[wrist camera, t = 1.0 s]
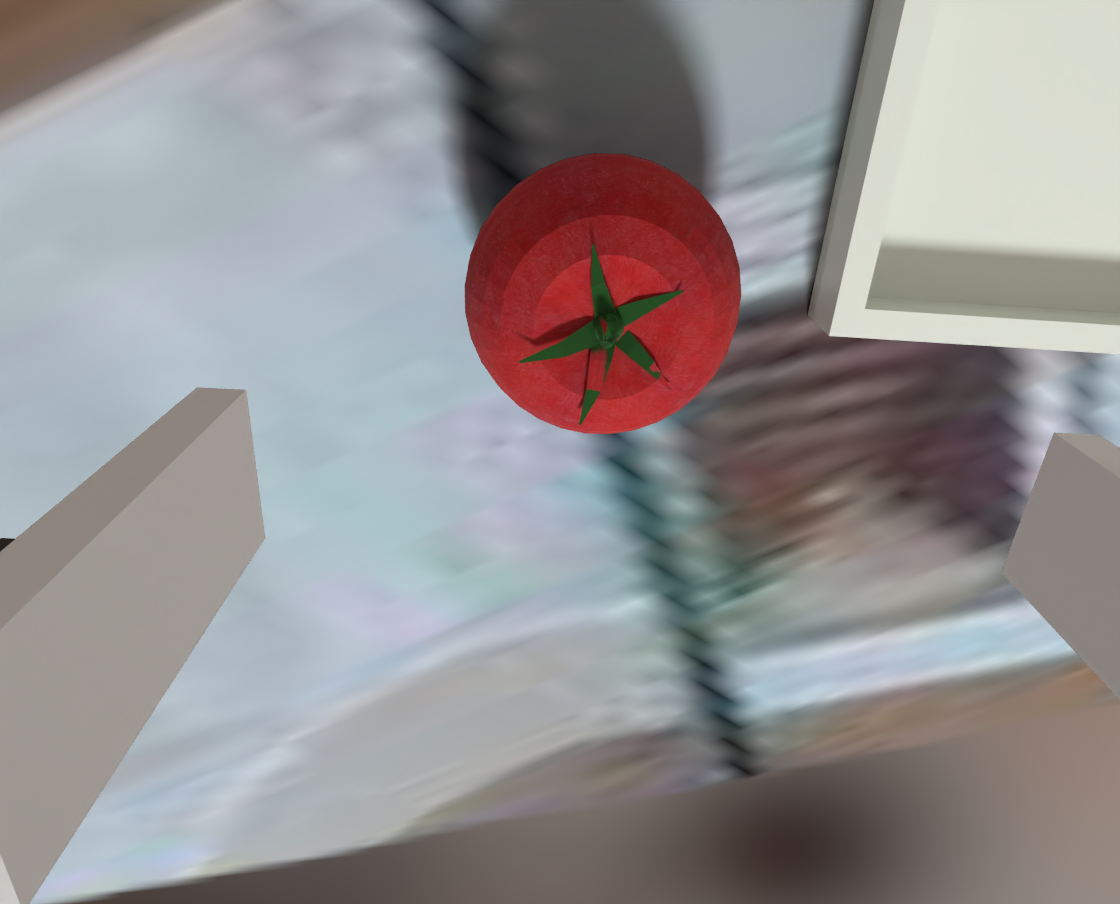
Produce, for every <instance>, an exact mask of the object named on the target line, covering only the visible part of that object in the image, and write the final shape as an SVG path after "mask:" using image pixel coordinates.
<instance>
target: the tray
mask: <svg viewBox="0 0 1120 904" xmlns="http://www.w3.org/2000/svg"><path fill="white" fill-rule="evenodd" d="M807 316H808V317H809V318H810V319H811V320H812V321H813V322H814V323H815V324H817V325H818V326H819V327H820V328H821V329H822V330H823V331H824V332H825V333H827V334H828V335H829V336H840V337H856V338H872V339H887V340H903V341H919V342H935V343H951V344H967V345H982V346H998V347H1014V348H1030V349H1046V350H1061V351H1077V352H1093V353H1109V354H1120V0H874V4H873V9H872V14H871V18H870V23H869V28H868V33H867V37H866V42H865V47H864V51H863V56H862V61H861V66H860V70H859V75H858V80H857V84H856V89H855V94H854V99H853V103H852V108H851V113H850V117H849V122H848V127H847V132H846V136H845V141H844V146H843V150H842V155H841V160H840V165H839V169H838V174H837V179H836V183H835V188H834V193H833V198H832V202H831V207H830V212H829V216H828V221H827V226H826V231H825V235H824V240H823V245H822V249H821V254H820V259H819V264H818V268H817V273H816V278H815V282H814V287H813V292H812V297H811V301H810V306H809V311H808V315H807Z"/></svg>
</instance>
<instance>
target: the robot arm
mask: <svg viewBox="0 0 1120 904" xmlns="http://www.w3.org/2000/svg"><path fill="white" fill-rule="evenodd" d="M264 539H265V532H264V525H263V517H262V509H261V501H260V494H259V486H258V478H257V470H256V463H255V455H254V447H253V439H252V432H251V424H250V416H249V409H248V401H247V393H246V390H235V389H216V388H196V389H195V390H194V391H192V392H191V393H190V394H189V395H188V396H186V397H185V398H184V399H183V400H182V401H180V402H179V403H178V404H177V405H176V406H174V407H173V408H172V409H171V410H170V411H168V412H167V413H166V414H165V415H164V416H162V417H161V418H160V419H159V420H158V421H156V422H155V423H154V424H153V425H152V426H150V427H149V428H148V429H147V430H146V431H144V432H143V433H142V434H141V435H140V436H138V437H137V438H136V439H135V440H134V441H132V442H131V443H130V444H129V445H128V446H126V447H125V448H124V449H123V450H122V451H120V452H119V453H118V454H117V455H116V456H114V457H113V458H112V459H111V460H110V461H108V462H107V463H106V464H105V465H104V466H102V467H101V468H100V469H99V470H98V471H96V472H95V473H94V474H93V475H92V476H90V477H89V478H88V479H87V480H86V481H84V482H83V483H82V484H81V485H80V486H78V487H77V488H76V489H75V490H74V491H72V492H71V493H70V494H69V495H68V496H66V497H65V498H64V499H63V500H62V501H60V502H59V503H58V504H57V505H56V506H54V507H53V508H52V509H51V510H50V511H48V512H47V513H46V514H45V515H44V516H42V517H41V518H40V519H39V520H38V521H36V522H35V523H34V524H33V525H32V526H30V527H29V528H28V529H27V530H26V531H24V532H23V533H22V534H21V535H20V536H18V537H17V538H16V539H8V538H1V539H0V904H29V903H30V902H31V900H32V899H33V897H34V896H35V894H36V893H37V891H38V889H39V888H40V886H41V885H42V883H43V882H44V880H45V879H46V877H47V875H48V874H49V872H50V871H51V869H52V868H53V866H54V865H55V863H56V862H57V860H58V858H59V857H60V855H61V854H62V852H63V851H64V849H65V848H66V846H67V844H68V843H69V841H70V840H71V838H72V837H73V835H74V834H75V832H76V830H77V829H78V827H79V826H80V824H81V823H82V821H83V820H84V818H85V817H86V815H87V813H88V812H89V810H90V809H91V807H92V806H93V804H94V803H95V801H96V799H97V798H98V796H99V795H100V793H101V792H102V790H103V789H104V787H105V785H106V784H107V782H108V781H109V779H110V778H111V776H112V775H113V773H114V772H115V770H116V768H117V767H118V765H119V764H120V762H121V761H122V759H123V758H124V756H125V754H126V753H127V751H128V750H129V748H130V747H131V745H132V744H133V742H134V741H135V739H136V737H137V736H138V734H139V733H140V731H141V730H142V728H143V727H144V725H145V723H146V722H147V720H148V719H149V717H150V716H151V714H152V713H153V711H154V709H155V708H156V706H157V705H158V703H159V702H160V700H161V699H162V697H163V696H164V694H165V692H166V691H167V689H168V688H169V686H170V685H171V683H172V682H173V680H174V678H175V677H176V675H177V674H178V672H179V671H180V669H181V668H182V666H183V665H184V663H185V661H186V660H187V658H188V657H189V655H190V654H191V652H192V651H193V649H194V647H195V646H196V644H197V643H198V641H199V640H200V638H201V637H202V635H203V633H204V632H205V630H206V629H207V627H208V626H209V624H210V623H211V621H212V620H213V618H214V616H215V615H216V613H217V612H218V610H219V609H220V607H221V606H222V604H223V602H224V601H225V599H226V598H227V596H228V595H229V593H230V592H231V590H232V589H233V587H234V585H235V584H236V582H237V581H238V579H239V578H240V576H241V575H242V573H243V571H244V570H245V568H246V567H247V565H248V564H249V562H250V561H251V559H252V557H253V556H254V554H255V553H256V551H257V550H258V548H259V547H260V545H261V544H262V542H263V540H264ZM1001 572H1002V573H1003V574H1004V576H1005V577H1006V578H1007V579H1008V580H1009V581H1010V582H1011V583H1012V584H1013V585H1014V586H1015V587H1016V588H1017V590H1018V591H1019V592H1020V593H1021V594H1022V595H1023V596H1024V597H1025V598H1026V599H1027V600H1028V601H1029V602H1030V604H1031V605H1032V606H1033V607H1034V608H1035V609H1036V610H1037V611H1038V612H1039V613H1040V614H1041V615H1042V616H1043V618H1044V619H1045V620H1046V621H1047V622H1048V623H1049V624H1050V625H1051V626H1052V627H1053V628H1054V629H1055V630H1056V632H1057V633H1058V634H1059V635H1060V636H1061V637H1062V638H1063V639H1064V640H1065V641H1066V642H1067V643H1068V644H1069V646H1070V647H1071V648H1072V649H1073V650H1074V651H1075V652H1076V653H1077V654H1078V655H1079V656H1080V657H1081V658H1082V660H1083V661H1084V662H1085V663H1086V664H1087V665H1088V666H1089V667H1090V668H1091V669H1092V670H1093V671H1094V672H1095V674H1096V675H1097V676H1098V677H1099V678H1100V679H1101V680H1102V681H1103V682H1104V683H1105V684H1106V685H1107V686H1108V688H1109V689H1110V690H1111V691H1112V692H1113V693H1114V694H1115V695H1116V696H1117V697H1118V698H1119V699H1120V448H1119V447H1117V446H1116V445H1114V444H1113V443H1111V442H1109V441H1108V440H1106V439H1105V438H1103V437H1101V436H1100V435H1087V434H1068V433H1054V434H1053V437H1052V439H1051V442H1050V444H1049V447H1048V450H1047V452H1046V455H1045V458H1044V460H1043V463H1042V466H1041V468H1040V471H1039V474H1038V476H1037V479H1036V481H1035V484H1034V487H1033V489H1032V492H1031V495H1030V497H1029V500H1028V503H1027V505H1026V508H1025V511H1024V513H1023V516H1022V519H1021V521H1020V524H1019V526H1018V529H1017V532H1016V534H1015V537H1014V540H1013V542H1012V545H1011V548H1010V550H1009V553H1008V556H1007V558H1006V561H1005V563H1004V566H1003V569H1002V571H1001Z"/></svg>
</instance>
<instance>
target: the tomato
mask: <svg viewBox="0 0 1120 904" xmlns="http://www.w3.org/2000/svg"><path fill="white" fill-rule="evenodd" d="M740 299H741V284H740V268H739V264H738V260H737V257H736V253H735V249H734V246H733V242H732V240H731V238H730V236H729V234H728V232H727V230H726V228H725V226H724V224H723V222H722V220H721V218H720V216H719V215H718V214H717V212H716V211H715V210H714V209H713V207H712V206H711V205H710V204H709V203H708V201H707V200H706V199H705V198H704V196H703V195H702V194H701V193H700V191H698V190H697V189H696V188H695V187H693V186H692V185H691V184H690V183H688V182H687V181H686V180H685V179H683V178H682V177H681V176H680V175H678V174H677V173H675V172H673V171H671V170H669V169H667V168H665V167H663V166H661V165H659V164H657V163H655V162H653V161H649V160H645V159H641V158H637V157H633V156H629V155H625V154H603V153H594V154H588V155H583V156H577V157H571V158H566V159H564V160H561V161H559V162H556V163H554V164H551V165H549V166H547V167H544V168H542V169H539V170H538V171H536V172H535V173H533V174H532V175H530V176H529V177H527V178H526V179H524V180H523V181H521V182H520V183H518V184H517V185H516V186H515V187H514V188H513V189H512V190H511V191H510V192H509V193H508V194H507V195H506V196H505V197H504V198H503V199H502V200H501V201H500V202H499V203H498V204H497V205H496V206H495V208H494V209H493V211H492V212H491V214H490V215H489V217H488V218H487V220H486V222H485V223H484V225H483V226H482V228H481V229H480V232H479V234H478V237H477V239H476V242H475V245H474V247H473V250H472V252H471V255H470V260H469V265H468V271H467V276H466V282H465V313H466V318H467V322H468V327H469V331H470V336H471V339H472V342H473V344H474V346H475V348H476V351H477V353H478V355H479V357H480V360H481V362H482V363H483V365H484V366H485V368H486V369H487V371H488V372H489V373H490V375H491V376H492V378H493V379H494V380H495V382H496V383H497V385H498V386H499V387H500V388H501V389H502V390H503V391H504V392H505V393H506V394H507V395H508V396H509V397H510V398H511V399H512V400H513V401H514V402H515V403H516V404H517V405H518V406H520V407H521V408H523V409H524V410H526V411H527V412H529V413H531V414H532V415H534V416H535V417H537V418H538V419H540V420H543V421H545V422H547V423H550V424H552V425H555V426H557V427H560V428H563V429H567V430H572V431H577V432H582V433H595V434H612V433H619V432H625V431H632V430H636V429H639V428H642V427H645V426H648V425H650V424H653V423H656V422H658V421H660V420H662V419H664V418H666V417H667V416H669V415H671V414H673V413H675V412H676V411H678V410H680V409H681V408H682V407H683V406H685V405H686V404H687V403H688V402H689V401H691V400H692V399H693V398H694V397H696V396H697V395H698V394H699V393H700V392H701V390H702V389H703V388H704V387H705V386H706V385H707V383H708V382H709V381H710V380H711V379H712V377H713V376H714V375H715V373H716V372H717V370H718V368H719V366H720V365H721V363H722V361H723V359H724V358H725V356H726V354H727V352H728V349H729V346H730V343H731V340H732V337H733V334H734V331H735V328H736V325H737V321H738V314H739V307H740Z"/></svg>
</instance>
